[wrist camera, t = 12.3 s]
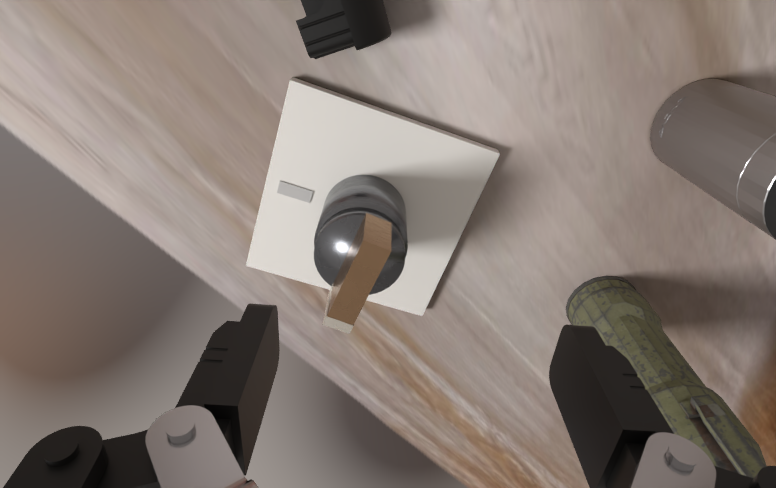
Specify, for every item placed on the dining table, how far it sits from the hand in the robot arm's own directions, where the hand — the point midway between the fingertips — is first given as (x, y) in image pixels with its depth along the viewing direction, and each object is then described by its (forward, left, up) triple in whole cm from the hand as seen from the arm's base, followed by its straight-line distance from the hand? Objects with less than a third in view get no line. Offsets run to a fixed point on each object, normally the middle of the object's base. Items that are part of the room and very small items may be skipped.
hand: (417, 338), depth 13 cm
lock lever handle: (-1, +14, -29) cm, 32 cm away
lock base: (-1, +14, -38) cm, 41 cm away
